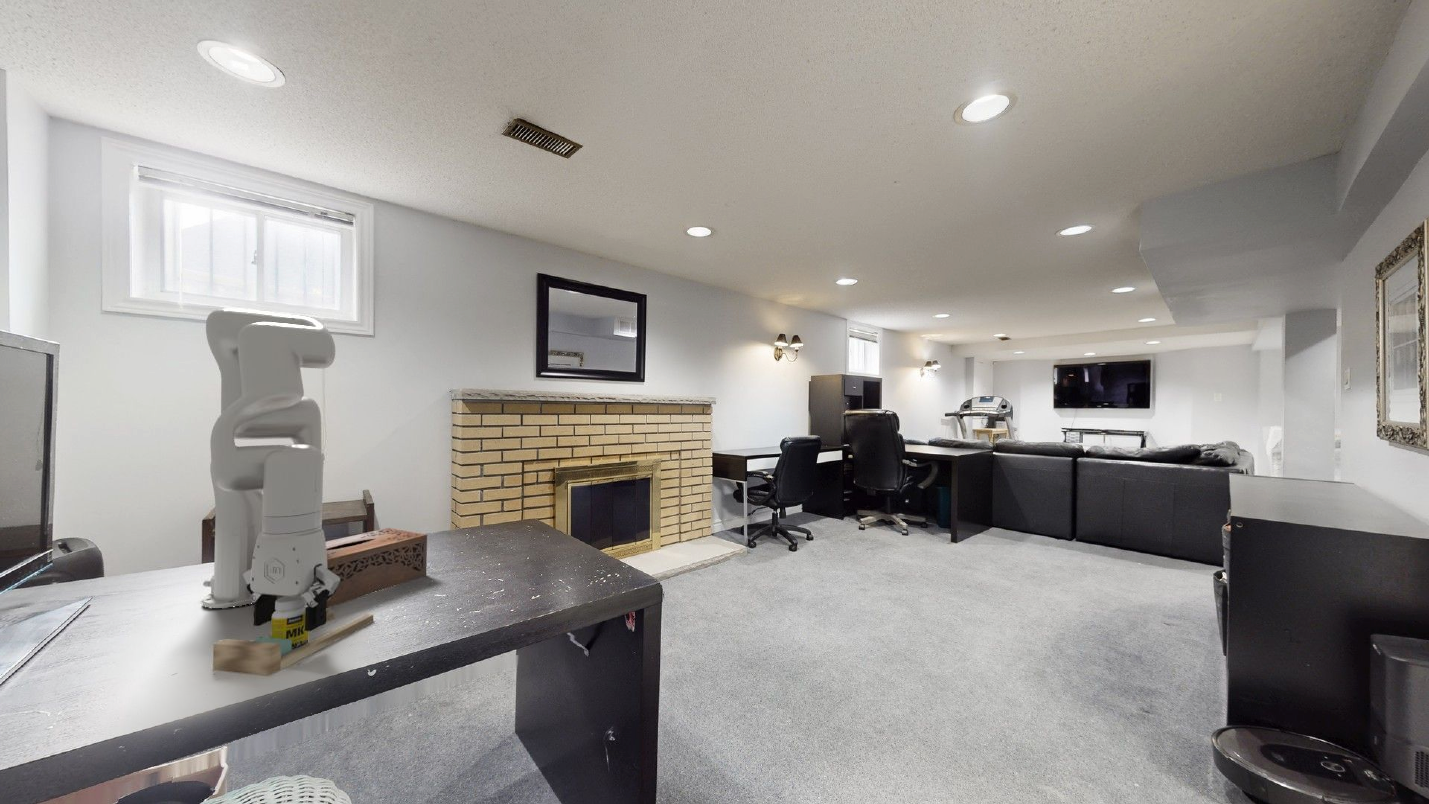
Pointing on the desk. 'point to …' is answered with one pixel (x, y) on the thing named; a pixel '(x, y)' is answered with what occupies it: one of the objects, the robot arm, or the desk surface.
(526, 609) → the desk surface
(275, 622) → the supplement bottle
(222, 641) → the track
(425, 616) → the desk surface
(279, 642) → the block
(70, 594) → the desk surface
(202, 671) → the desk surface
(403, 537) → the tissue box cover
